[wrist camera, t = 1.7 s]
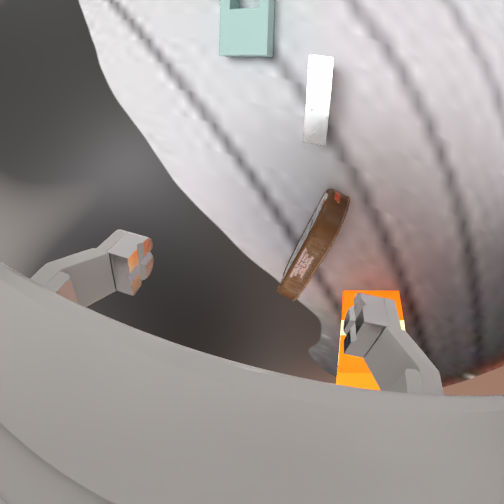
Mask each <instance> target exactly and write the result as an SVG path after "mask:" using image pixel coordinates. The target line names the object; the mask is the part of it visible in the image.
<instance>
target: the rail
mask: <svg viewBox="0 0 504 504" xmlns="http://www.w3.org/2000/svg"><path fill="white" fill-rule="evenodd" d="M274 10H275V0H259V6H258V8H242V9H239V0H221V3H220V35H219V56H226V57H273V38H274Z"/></svg>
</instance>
